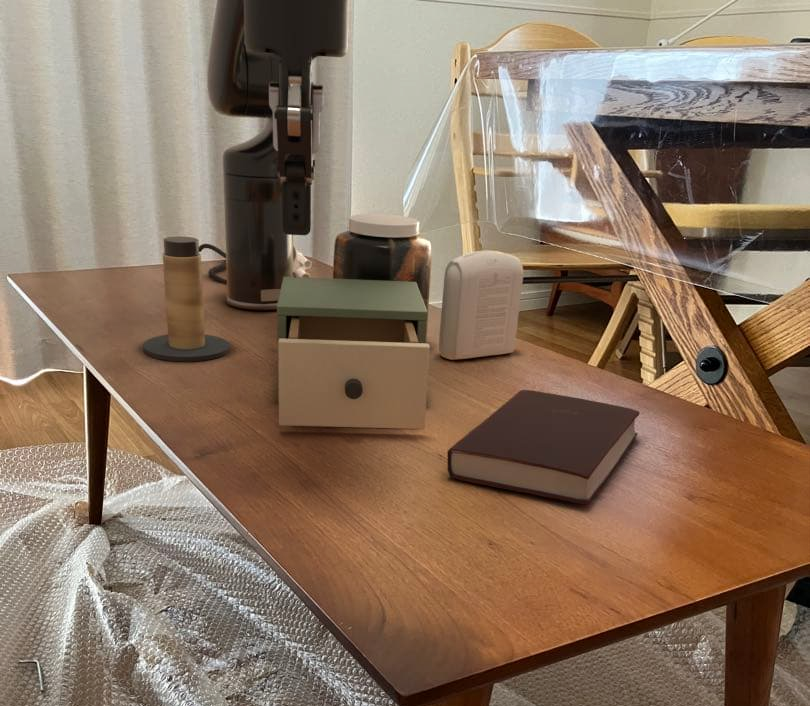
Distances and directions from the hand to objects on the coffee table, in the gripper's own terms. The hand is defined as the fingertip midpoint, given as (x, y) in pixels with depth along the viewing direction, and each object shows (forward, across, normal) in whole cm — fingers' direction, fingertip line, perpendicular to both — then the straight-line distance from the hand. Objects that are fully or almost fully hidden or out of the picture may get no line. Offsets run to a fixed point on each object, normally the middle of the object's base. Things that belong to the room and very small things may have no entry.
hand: (296, 233), depth 73 cm
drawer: (+18, +10, -5) cm, 21 cm away
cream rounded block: (+19, +34, -21) cm, 44 cm away
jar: (+19, +36, -9) cm, 42 cm away
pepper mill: (+18, +31, +14) cm, 39 cm away
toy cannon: (+19, +76, +4) cm, 78 cm away
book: (+19, +1, -23) cm, 30 cm away
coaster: (+19, +32, +14) cm, 39 cm away
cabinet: (+19, +20, -5) cm, 28 cm away
